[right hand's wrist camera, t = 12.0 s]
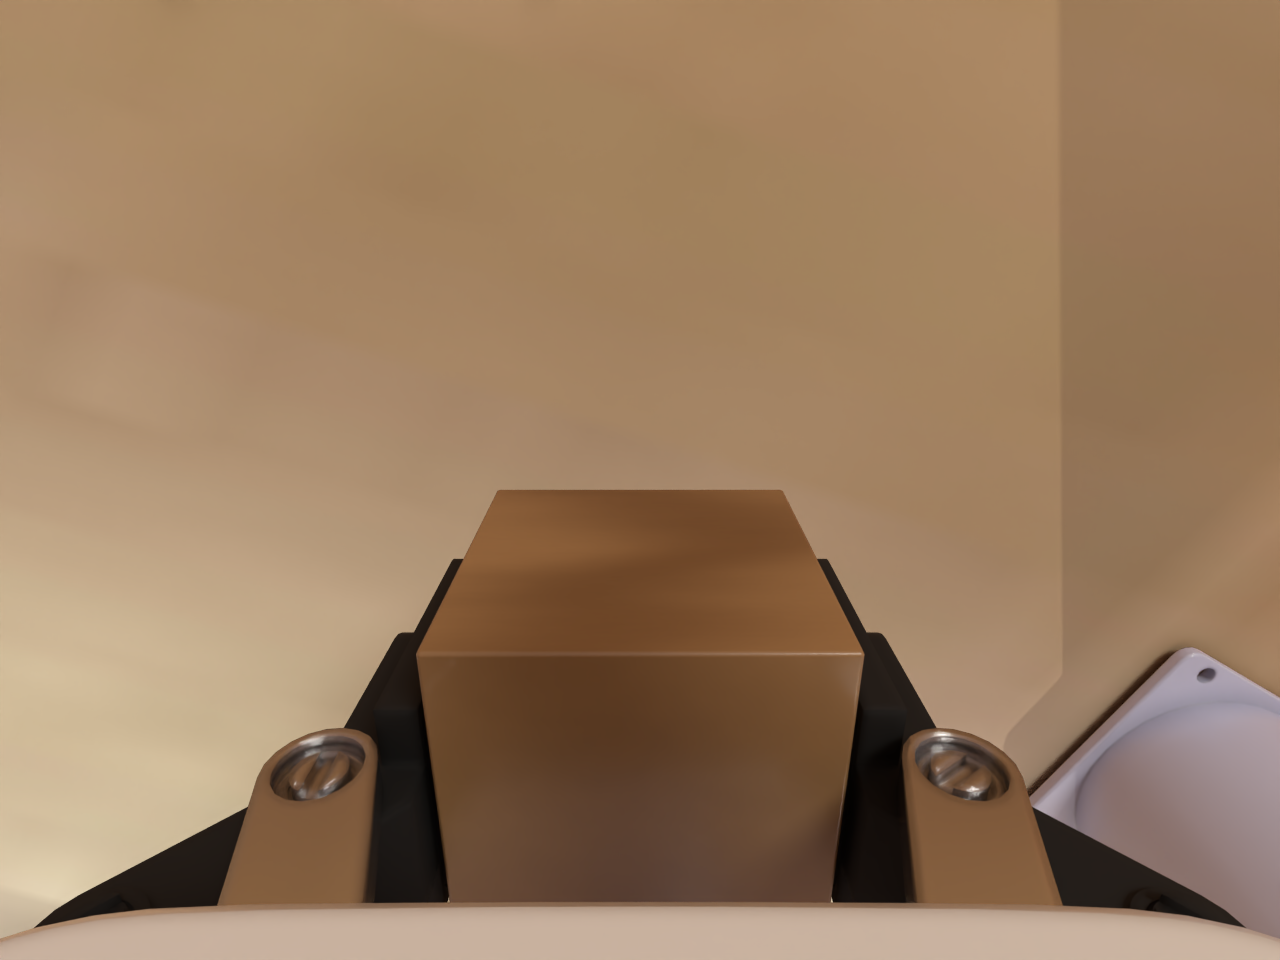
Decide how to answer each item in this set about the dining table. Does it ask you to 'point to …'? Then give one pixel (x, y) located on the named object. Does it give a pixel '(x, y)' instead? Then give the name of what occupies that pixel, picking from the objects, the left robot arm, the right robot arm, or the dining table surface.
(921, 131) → the dining table surface
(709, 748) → the brown wooden cube
